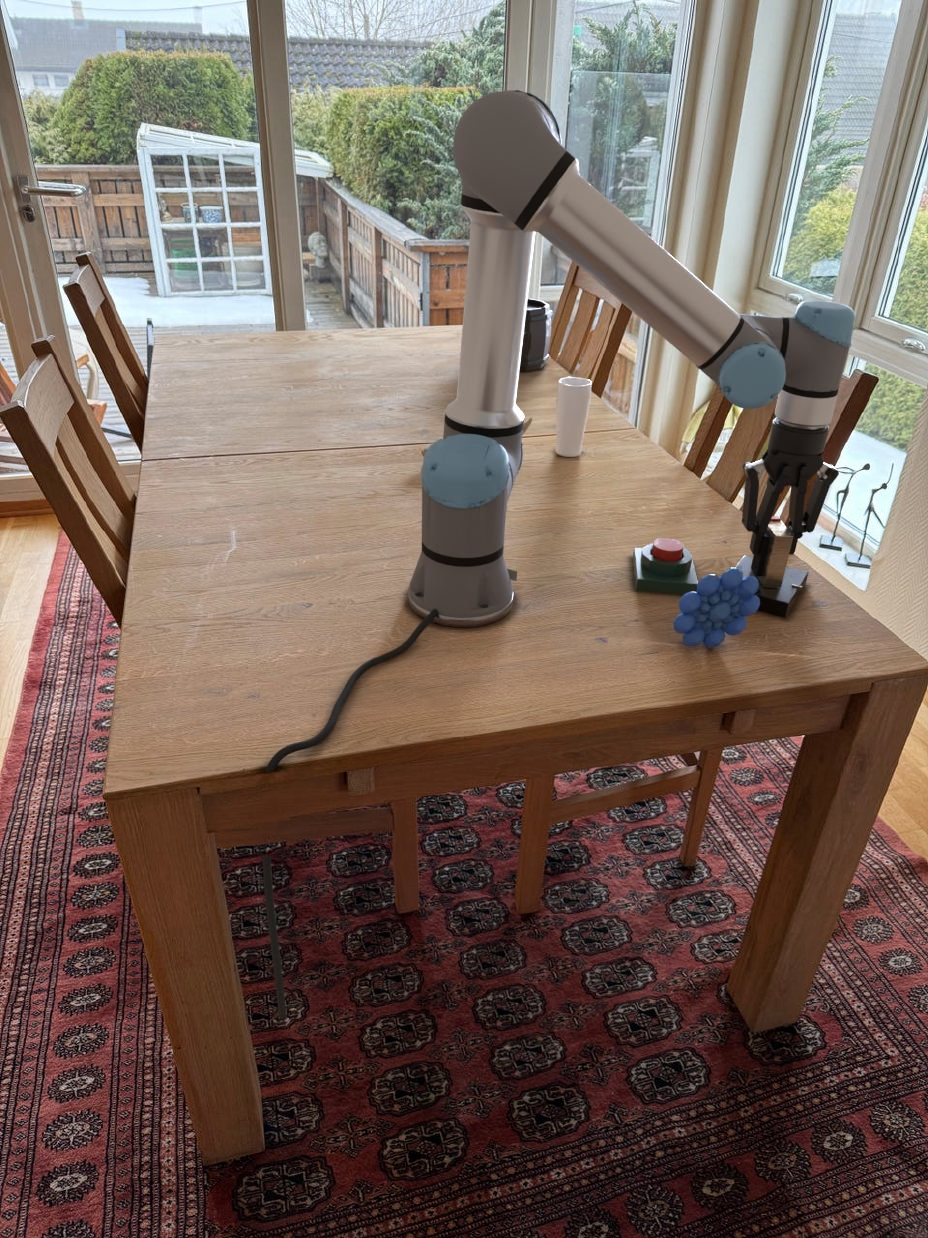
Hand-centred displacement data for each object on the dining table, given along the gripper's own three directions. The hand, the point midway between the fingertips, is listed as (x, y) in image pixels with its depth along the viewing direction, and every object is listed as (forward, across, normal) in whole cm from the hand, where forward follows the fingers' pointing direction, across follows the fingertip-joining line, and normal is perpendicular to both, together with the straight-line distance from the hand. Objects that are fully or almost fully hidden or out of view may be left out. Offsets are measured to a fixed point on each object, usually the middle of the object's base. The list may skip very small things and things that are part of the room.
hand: (767, 572), depth 137 cm
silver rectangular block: (+1, 0, 0) cm, 1 cm away
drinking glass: (+4, +22, -58) cm, 63 cm away
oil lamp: (+4, +42, -50) cm, 65 cm away
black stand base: (+4, 0, 0) cm, 4 cm away
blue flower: (+4, +12, +15) cm, 20 cm away
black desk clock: (+4, +28, -127) cm, 130 cm away
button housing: (+4, +14, -5) cm, 15 cm away
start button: (0, +14, -5) cm, 15 cm away
